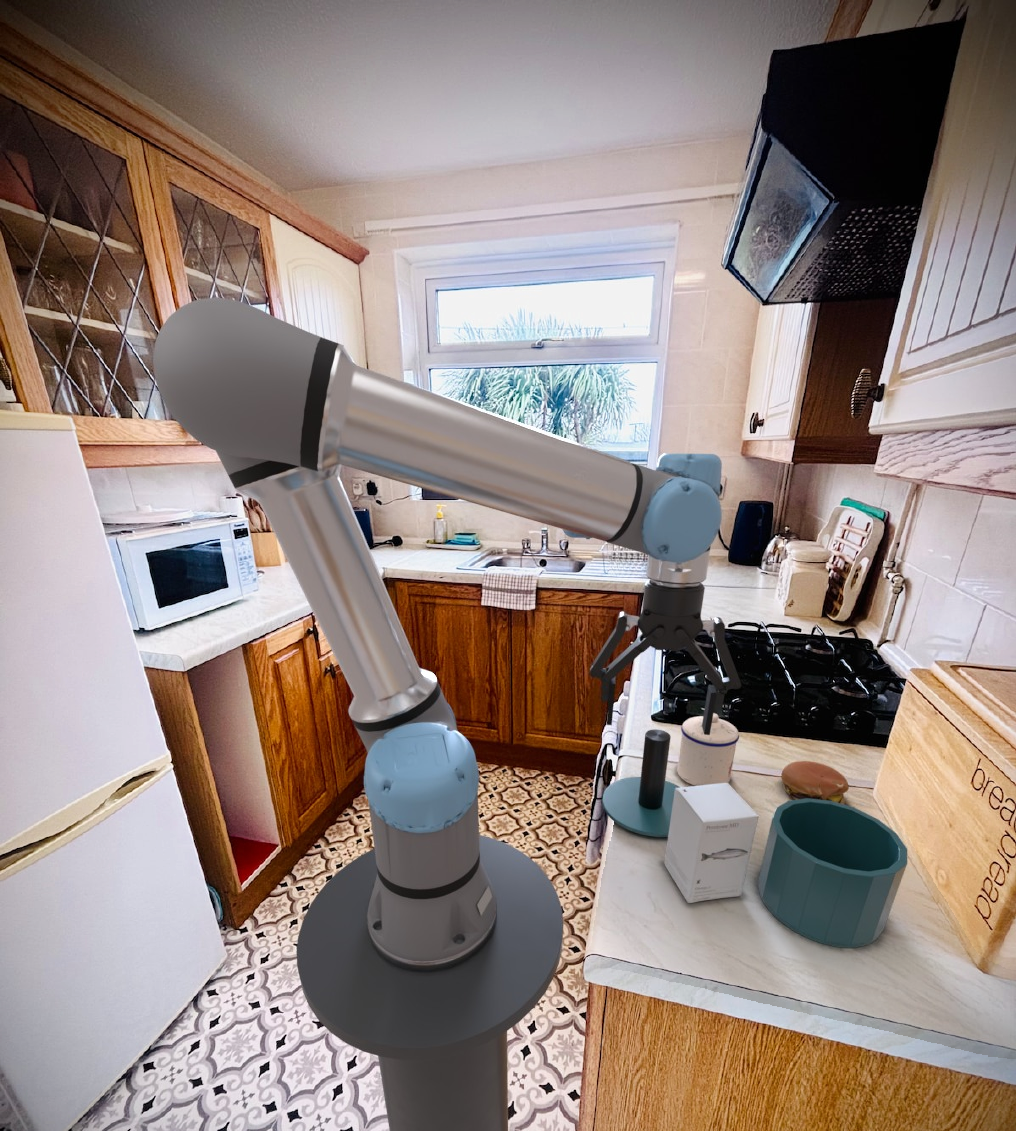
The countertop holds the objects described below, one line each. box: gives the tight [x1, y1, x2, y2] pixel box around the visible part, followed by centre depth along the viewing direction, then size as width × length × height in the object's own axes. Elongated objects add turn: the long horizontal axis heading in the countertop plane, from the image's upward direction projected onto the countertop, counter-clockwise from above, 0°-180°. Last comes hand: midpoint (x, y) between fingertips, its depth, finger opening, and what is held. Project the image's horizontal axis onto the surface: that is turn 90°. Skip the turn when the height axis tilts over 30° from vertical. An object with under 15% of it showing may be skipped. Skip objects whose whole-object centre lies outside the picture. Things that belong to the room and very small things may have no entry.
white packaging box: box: [663, 782, 759, 904], centre depth 68 cm, size 7×7×13 cm
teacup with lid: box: [676, 712, 740, 786], centre depth 93 cm, size 12×9×12 cm
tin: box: [757, 798, 908, 949], centre depth 65 cm, size 14×14×10 cm
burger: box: [781, 760, 850, 805], centre depth 87 cm, size 10×9×5 cm
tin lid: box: [601, 729, 681, 838], centre depth 82 cm, size 15×15×13 cm
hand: (656, 725), depth 79 cm, fingers open, 13 cm apart
